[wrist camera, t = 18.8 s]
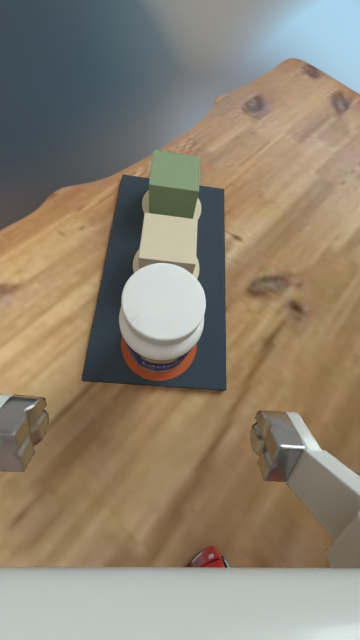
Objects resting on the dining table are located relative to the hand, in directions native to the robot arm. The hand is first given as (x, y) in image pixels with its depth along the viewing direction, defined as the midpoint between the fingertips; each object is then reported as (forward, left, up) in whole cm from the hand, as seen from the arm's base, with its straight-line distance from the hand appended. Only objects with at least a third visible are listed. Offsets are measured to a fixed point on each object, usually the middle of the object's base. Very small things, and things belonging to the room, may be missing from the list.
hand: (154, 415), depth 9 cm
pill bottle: (-3, -5, -12) cm, 13 cm away
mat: (-7, -13, -12) cm, 19 cm away
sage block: (-11, -20, -12) cm, 26 cm away
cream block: (-7, -13, -12) cm, 18 cm away
